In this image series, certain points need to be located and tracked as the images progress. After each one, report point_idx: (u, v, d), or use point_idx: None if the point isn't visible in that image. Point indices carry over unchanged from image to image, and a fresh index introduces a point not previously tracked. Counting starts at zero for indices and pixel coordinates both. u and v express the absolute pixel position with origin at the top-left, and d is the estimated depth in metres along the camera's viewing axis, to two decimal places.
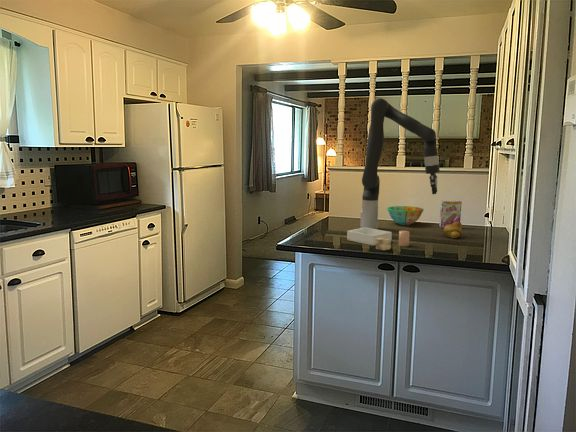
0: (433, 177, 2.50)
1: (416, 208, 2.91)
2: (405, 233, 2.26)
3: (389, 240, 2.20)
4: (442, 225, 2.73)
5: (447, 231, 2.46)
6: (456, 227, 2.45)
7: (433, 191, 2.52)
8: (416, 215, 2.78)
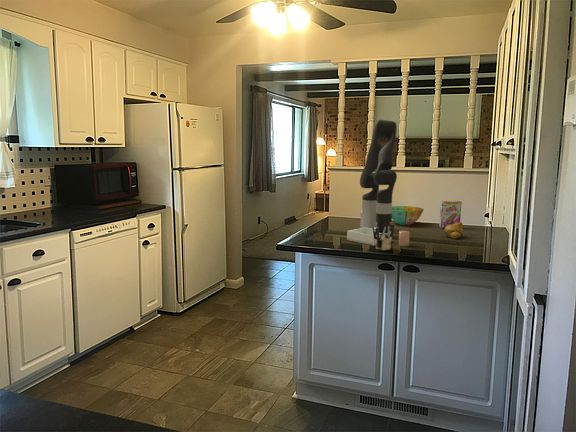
0: (375, 230, 2.16)
1: (416, 208, 2.91)
2: (405, 233, 2.26)
3: (389, 240, 2.20)
4: (442, 225, 2.73)
5: (448, 231, 2.46)
6: (457, 227, 2.44)
7: (378, 244, 2.20)
8: (416, 215, 2.78)
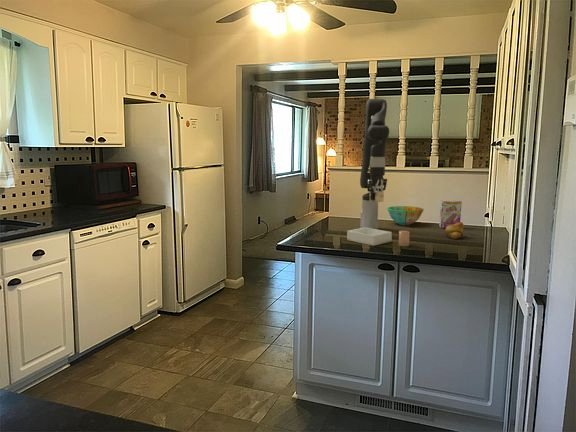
0: (369, 182, 2.27)
1: (416, 208, 2.91)
2: (405, 233, 2.26)
3: (382, 193, 2.32)
4: (442, 225, 2.73)
5: (448, 231, 2.45)
6: (457, 227, 2.44)
7: (371, 197, 2.31)
8: (416, 215, 2.78)
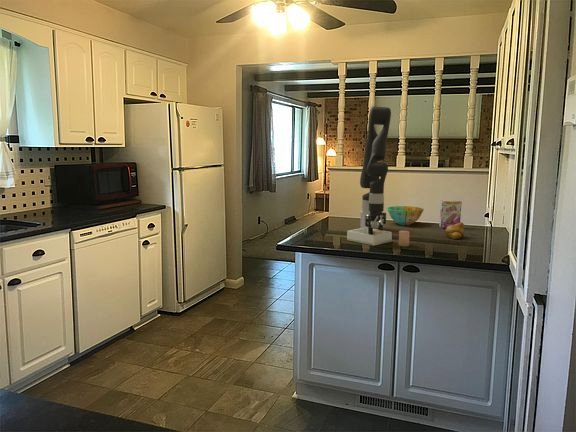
0: (368, 217, 2.30)
1: (416, 208, 2.91)
2: (405, 233, 2.26)
3: (381, 232, 2.35)
4: (442, 225, 2.73)
5: (448, 232, 2.45)
6: (457, 228, 2.43)
7: (369, 231, 2.33)
8: (416, 215, 2.78)
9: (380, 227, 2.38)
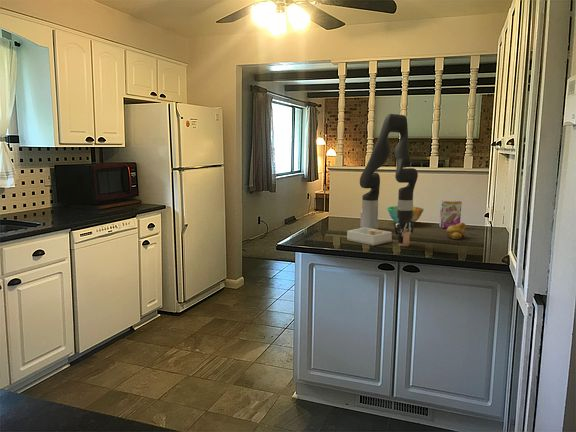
0: (397, 226, 2.23)
1: (416, 208, 2.91)
2: (405, 233, 2.26)
3: (381, 232, 2.35)
4: (442, 225, 2.73)
5: (449, 232, 2.44)
6: (458, 228, 2.42)
7: (399, 240, 2.27)
8: (416, 215, 2.78)
9: None
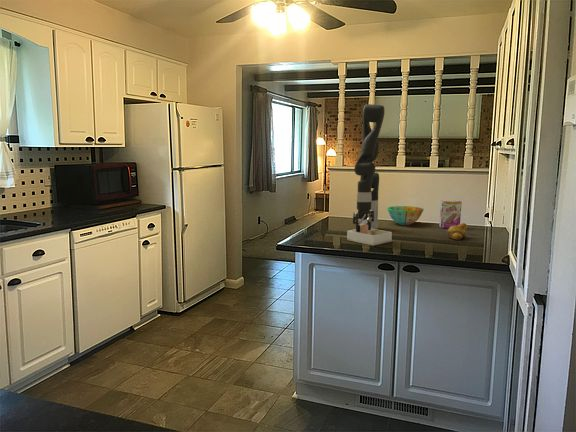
0: (356, 215, 2.36)
1: (416, 208, 2.91)
2: (364, 226, 2.39)
3: (381, 232, 2.35)
4: (442, 225, 2.73)
5: (449, 232, 2.43)
6: (458, 228, 2.41)
7: (356, 229, 2.39)
8: (416, 215, 2.78)
9: (368, 224, 2.44)
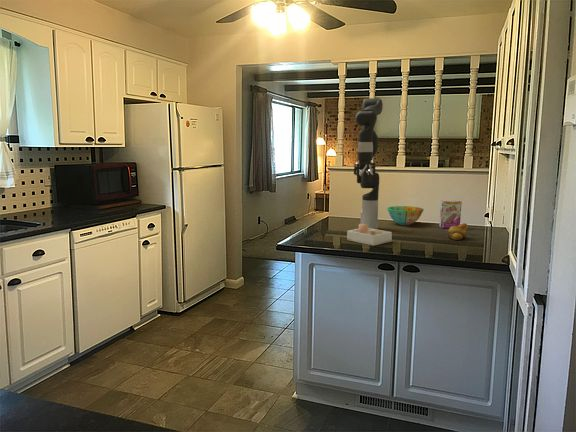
0: (357, 165, 2.32)
1: (416, 208, 2.91)
2: (364, 226, 2.39)
3: (381, 232, 2.35)
4: (442, 225, 2.73)
5: (449, 232, 2.43)
6: (458, 229, 2.41)
7: (357, 180, 2.35)
8: (416, 215, 2.78)
9: (370, 176, 2.40)
